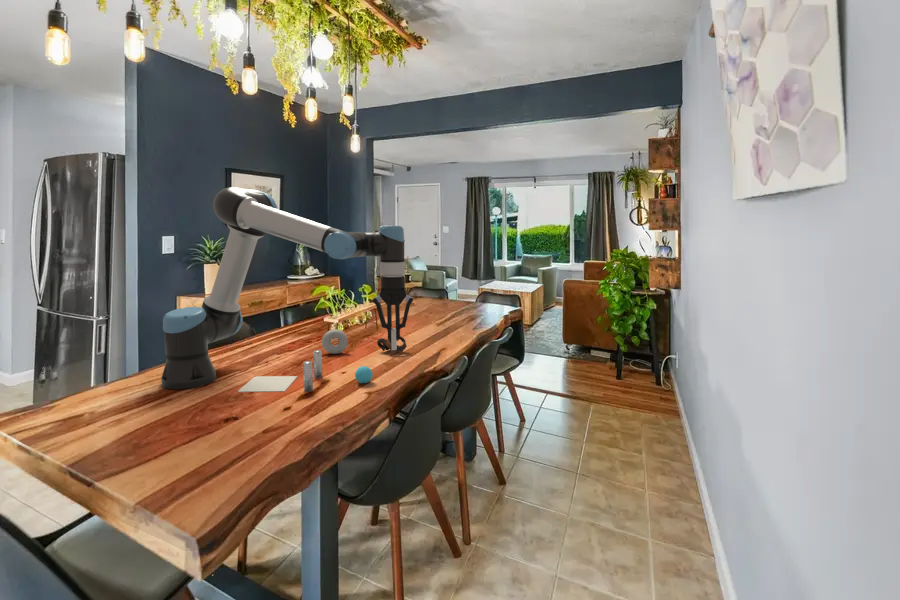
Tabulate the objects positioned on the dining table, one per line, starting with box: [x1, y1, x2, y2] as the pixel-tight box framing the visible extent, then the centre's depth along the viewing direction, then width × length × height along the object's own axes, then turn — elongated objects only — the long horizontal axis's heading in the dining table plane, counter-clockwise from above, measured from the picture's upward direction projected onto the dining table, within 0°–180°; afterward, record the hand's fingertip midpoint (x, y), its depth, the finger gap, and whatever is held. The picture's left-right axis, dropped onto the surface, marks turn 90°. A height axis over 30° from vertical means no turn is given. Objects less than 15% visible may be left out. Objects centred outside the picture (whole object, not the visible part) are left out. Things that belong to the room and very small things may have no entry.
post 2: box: [312, 349, 323, 379], centre depth 146 cm, size 3×3×9 cm
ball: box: [354, 365, 374, 384], centre depth 141 cm, size 6×6×6 cm
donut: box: [321, 328, 349, 355], centre depth 174 cm, size 10×4×10 cm, turn 104°
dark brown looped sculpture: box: [376, 335, 407, 356], centre depth 177 cm, size 12×10×8 cm
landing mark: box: [237, 375, 298, 393], centre depth 140 cm, size 14×14×1 cm
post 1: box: [302, 360, 314, 393], centre depth 134 cm, size 3×3×9 cm
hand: (394, 348), depth 140 cm, fingers closed
